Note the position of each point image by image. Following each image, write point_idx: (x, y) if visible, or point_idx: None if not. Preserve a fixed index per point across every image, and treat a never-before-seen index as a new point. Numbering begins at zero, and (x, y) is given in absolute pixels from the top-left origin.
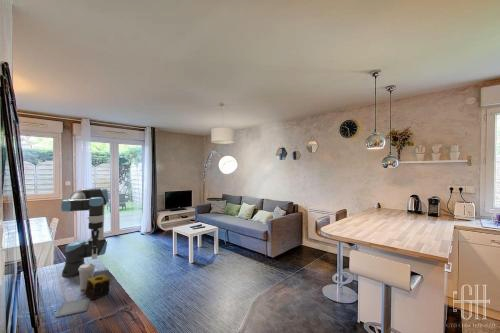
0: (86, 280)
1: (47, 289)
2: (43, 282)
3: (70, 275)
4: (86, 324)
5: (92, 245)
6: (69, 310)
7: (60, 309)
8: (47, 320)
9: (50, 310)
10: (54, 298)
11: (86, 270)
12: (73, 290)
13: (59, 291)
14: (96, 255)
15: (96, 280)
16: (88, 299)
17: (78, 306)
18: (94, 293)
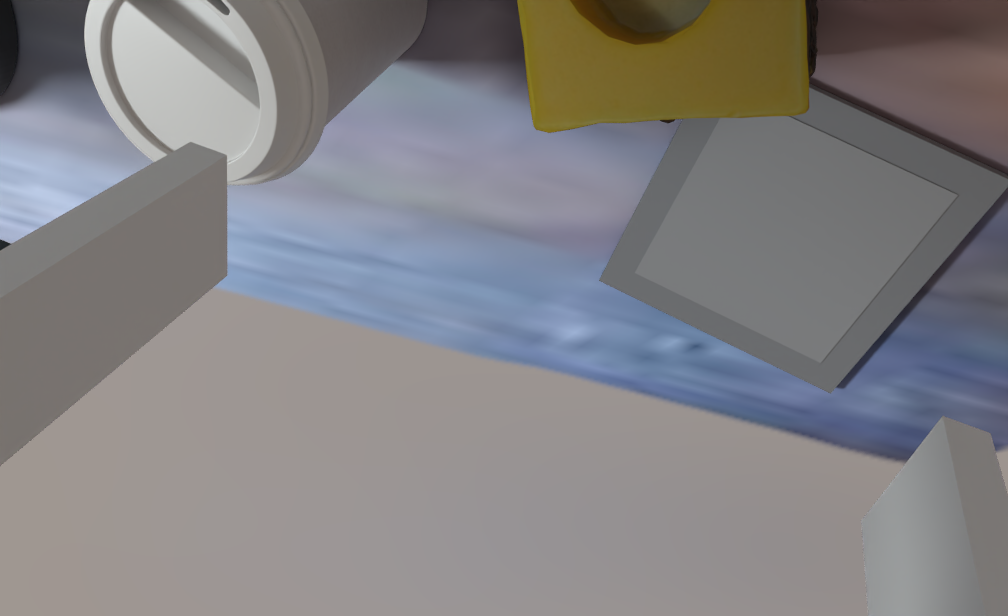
0: (383, 46)
1: None
2: None
3: (4, 57)
4: None
5: (61, 409)
6: (828, 291)
7: (722, 329)
8: (811, 427)
9: (645, 365)
10: (431, 283)
11: (320, 109)
12: (367, 122)
13: (310, 217)
14: (997, 542)
15: (700, 36)
16: None
17: (825, 211)
18: (813, 51)
